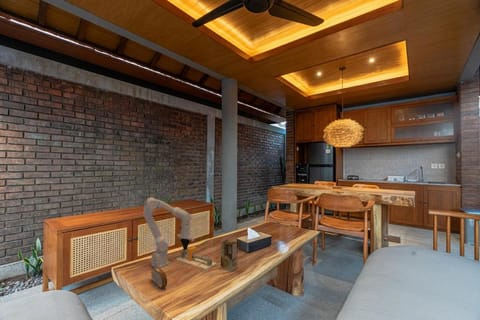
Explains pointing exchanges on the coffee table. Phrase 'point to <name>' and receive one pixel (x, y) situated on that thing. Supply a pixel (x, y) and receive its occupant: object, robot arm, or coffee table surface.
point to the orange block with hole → (190, 251)
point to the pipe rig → (196, 261)
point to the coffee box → (229, 255)
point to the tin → (159, 277)
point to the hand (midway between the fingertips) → (185, 249)
